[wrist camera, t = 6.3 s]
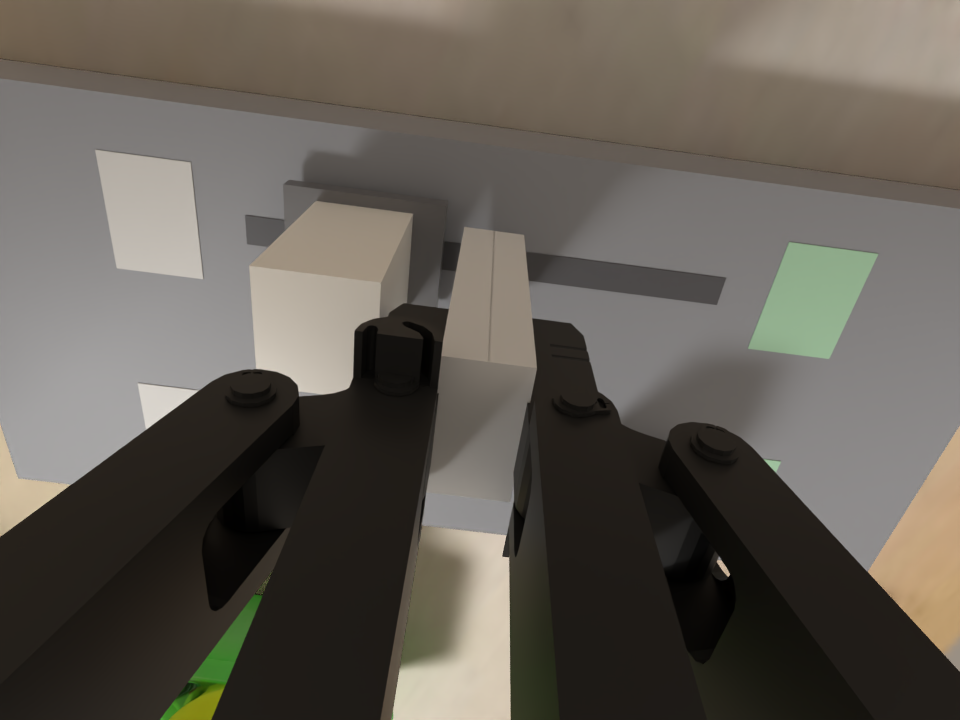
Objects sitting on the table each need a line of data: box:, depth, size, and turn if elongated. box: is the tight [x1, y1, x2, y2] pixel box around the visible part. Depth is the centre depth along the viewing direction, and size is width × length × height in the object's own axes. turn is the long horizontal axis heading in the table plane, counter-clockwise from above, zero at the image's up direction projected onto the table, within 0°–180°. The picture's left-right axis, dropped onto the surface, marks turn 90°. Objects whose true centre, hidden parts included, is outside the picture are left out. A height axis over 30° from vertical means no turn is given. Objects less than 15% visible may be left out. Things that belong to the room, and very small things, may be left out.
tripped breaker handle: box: [249, 180, 448, 395], centre depth 14 cm, size 4×3×5 cm
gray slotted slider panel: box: [0, 59, 960, 572], centre depth 19 cm, size 30×13×3 cm, turn 83°
